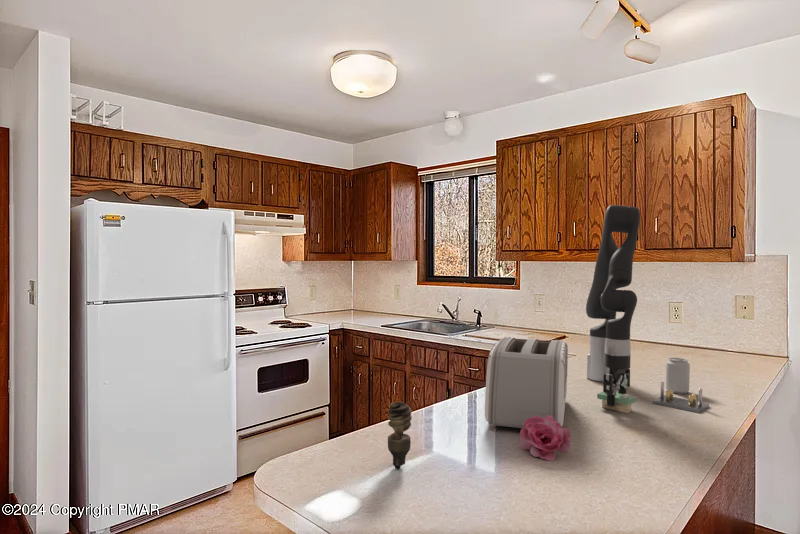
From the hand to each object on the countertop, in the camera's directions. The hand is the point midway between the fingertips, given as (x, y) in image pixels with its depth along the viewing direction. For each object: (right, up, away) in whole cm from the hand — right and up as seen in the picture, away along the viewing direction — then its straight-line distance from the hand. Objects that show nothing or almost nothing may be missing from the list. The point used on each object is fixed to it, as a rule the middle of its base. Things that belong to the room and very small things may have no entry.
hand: (616, 403), depth 166 cm
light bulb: (-69, -2, -48) cm, 84 cm away
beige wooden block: (0, -2, 0) cm, 2 cm away
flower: (-33, -3, -38) cm, 51 cm away
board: (0, +1, 0) cm, 1 cm away
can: (+32, -2, +23) cm, 39 cm away
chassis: (+23, -2, +6) cm, 24 cm away
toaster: (-29, -2, -4) cm, 29 cm away
